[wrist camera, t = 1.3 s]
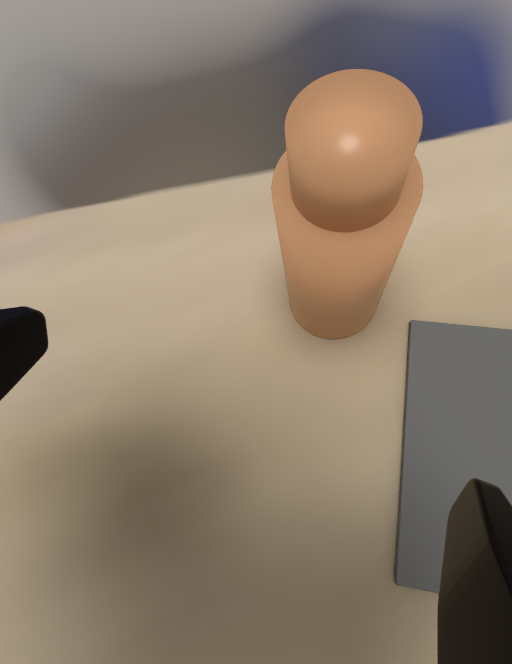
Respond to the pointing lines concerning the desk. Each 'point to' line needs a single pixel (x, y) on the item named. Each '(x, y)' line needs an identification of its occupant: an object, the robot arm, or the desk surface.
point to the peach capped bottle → (346, 196)
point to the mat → (449, 435)
